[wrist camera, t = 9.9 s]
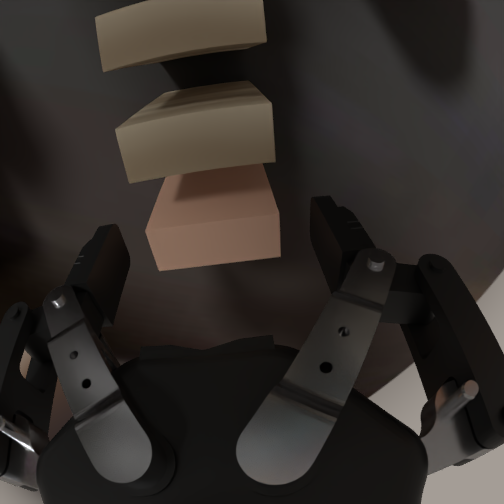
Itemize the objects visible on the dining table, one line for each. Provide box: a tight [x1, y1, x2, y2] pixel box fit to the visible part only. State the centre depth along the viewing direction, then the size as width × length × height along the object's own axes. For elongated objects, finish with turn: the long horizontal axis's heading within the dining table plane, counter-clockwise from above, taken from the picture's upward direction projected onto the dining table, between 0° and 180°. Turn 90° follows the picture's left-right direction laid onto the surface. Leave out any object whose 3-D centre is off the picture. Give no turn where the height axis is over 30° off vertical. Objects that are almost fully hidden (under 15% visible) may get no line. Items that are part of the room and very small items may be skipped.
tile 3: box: [95, 0, 267, 72], centre depth 10 cm, size 2×5×9 cm, turn 95°
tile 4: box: [115, 80, 276, 184], centre depth 12 cm, size 2×5×9 cm, turn 95°
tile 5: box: [146, 163, 281, 271], centre depth 15 cm, size 2×5×9 cm, turn 95°
